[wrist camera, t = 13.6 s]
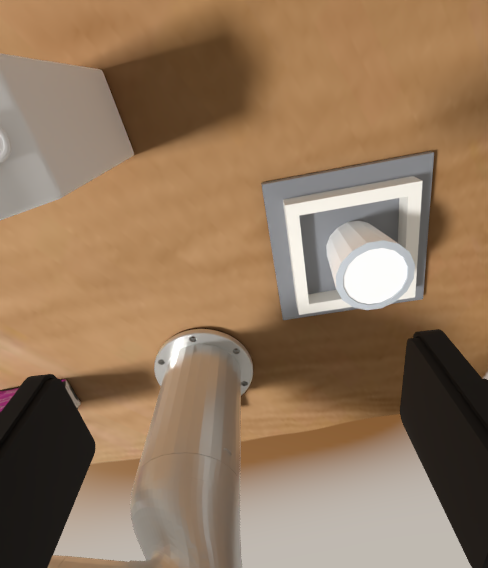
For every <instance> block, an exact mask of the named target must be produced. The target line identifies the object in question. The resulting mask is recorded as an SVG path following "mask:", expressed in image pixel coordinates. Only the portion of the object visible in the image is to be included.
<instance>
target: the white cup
mask: <svg viewBox="0 0 488 568" xmlns="http://www.w3.org/2000/svg"><path fill="white" fill-rule="evenodd" d="M326 249H327V258H328V261H329V265H330V268H331V272H332V276H333V279H334V283H335V286H336V290H337V291H338V293H339V295H340V297H341V298H342V300H343V301H345V302H346V303H347V304H349V305H350V306H352V307H354V308H359V309H364V310H372V309H379V308H383V307H385V306H387V305H389V304H392V303H394V302H396V301H397V300H398V299H399V298H400V297H401V296H402V295H403V294H404V293H406V292H407V290H408V288H409V287H410V285H411V283H412V281H413V279H414V271H415V263H414V261H413V259H412V256H411V254H410V252H409V251H407V250H406V249H405V248H404V247H402V246H401V245H400V244H398V243H397V242H396V241H394V240H393V239H391V238H390V237H388V236H387V235H385V234H384V233H382V232H381V231H380V230H378V229H377V228H375V227H374V226H372V225H371V224H369V223H367V222H362V221H352V222H347V223H345V224H343V225H341V226H340V227H338V228H337V229H336V230H335V231H334V232H333V233H332V234H331V235H330V237H329V240H328V243H327V245H326Z"/></svg>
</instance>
